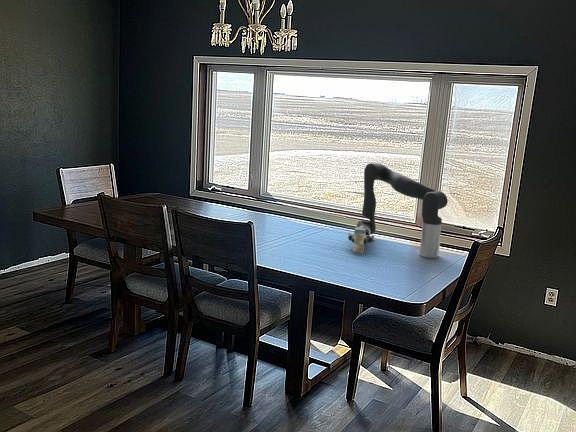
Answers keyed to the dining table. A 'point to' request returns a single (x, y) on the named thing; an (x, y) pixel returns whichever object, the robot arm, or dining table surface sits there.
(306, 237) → the dining table surface
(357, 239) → the maple block
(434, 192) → the robot arm
